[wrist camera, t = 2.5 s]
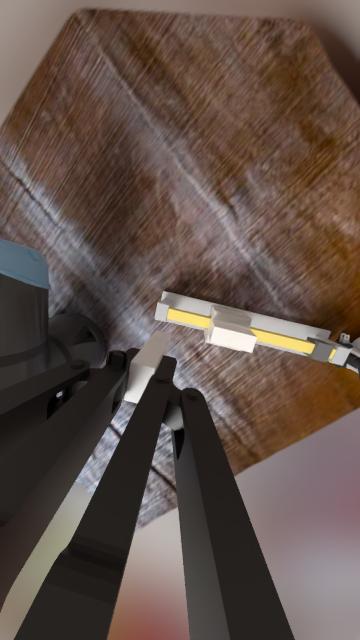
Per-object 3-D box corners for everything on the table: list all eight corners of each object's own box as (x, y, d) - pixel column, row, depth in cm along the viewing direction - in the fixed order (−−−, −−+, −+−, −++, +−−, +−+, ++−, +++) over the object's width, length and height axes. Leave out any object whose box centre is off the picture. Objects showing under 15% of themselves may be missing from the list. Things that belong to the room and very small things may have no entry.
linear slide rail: (158, 318, 37) (150, 326, 30) (163, 290, 35) (156, 293, 29) (315, 357, 36) (341, 374, 29) (328, 330, 34) (358, 342, 28)
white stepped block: (204, 332, 34) (207, 352, 25) (211, 305, 32) (217, 315, 23) (233, 339, 34) (248, 362, 24) (242, 312, 32) (261, 326, 23)
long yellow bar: (162, 317, 33) (159, 321, 30) (166, 302, 32) (162, 304, 29) (331, 358, 31) (344, 366, 28) (338, 344, 31) (353, 350, 28)
